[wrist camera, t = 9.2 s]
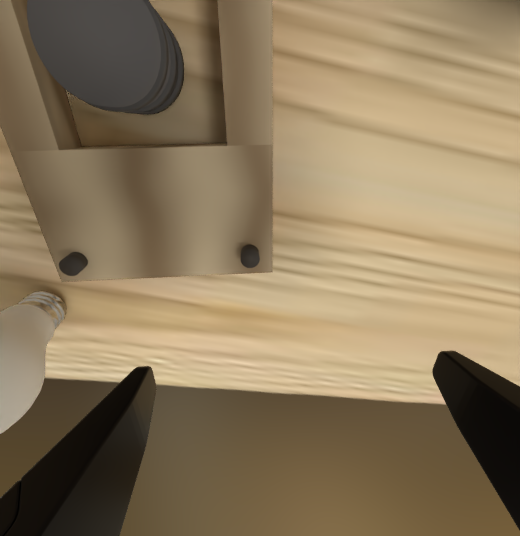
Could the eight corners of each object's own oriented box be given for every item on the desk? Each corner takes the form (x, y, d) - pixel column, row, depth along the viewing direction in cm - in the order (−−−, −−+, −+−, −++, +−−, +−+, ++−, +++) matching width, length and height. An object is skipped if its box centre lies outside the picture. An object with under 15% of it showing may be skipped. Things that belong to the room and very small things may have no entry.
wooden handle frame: (267, -34, 14) (277, -90, 10) (269, 257, 21) (275, 285, 18) (-24, -34, 13) (-126, -94, 10) (80, 265, 21) (44, 296, 17)
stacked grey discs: (180, 11, 15) (145, -53, 9) (191, 114, 17) (169, 109, 11) (87, 11, 14) (-2, -54, 9) (111, 115, 17) (50, 111, 11)
